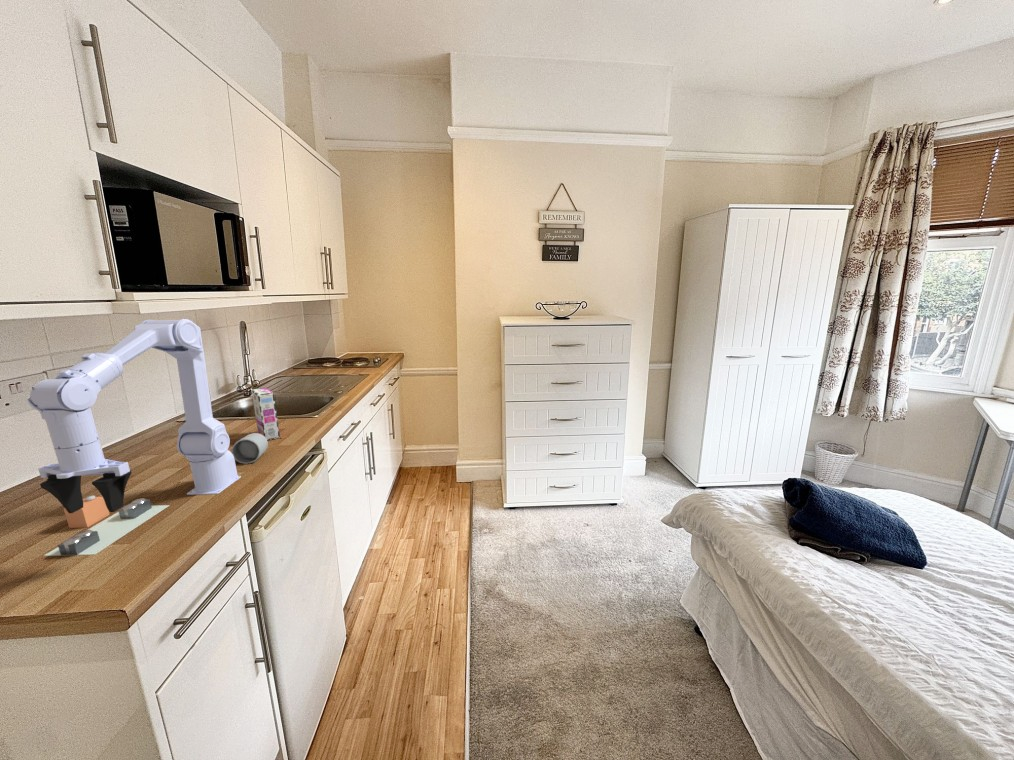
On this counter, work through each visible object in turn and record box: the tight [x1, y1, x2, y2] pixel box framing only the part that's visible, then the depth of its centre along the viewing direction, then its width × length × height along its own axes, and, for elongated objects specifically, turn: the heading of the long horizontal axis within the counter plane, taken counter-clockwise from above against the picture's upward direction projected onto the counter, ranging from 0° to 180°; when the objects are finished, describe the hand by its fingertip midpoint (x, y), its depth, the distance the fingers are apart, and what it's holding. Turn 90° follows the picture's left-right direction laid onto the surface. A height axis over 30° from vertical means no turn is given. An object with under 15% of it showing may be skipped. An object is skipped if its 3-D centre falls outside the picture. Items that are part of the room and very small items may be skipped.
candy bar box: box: [251, 387, 281, 441], centre depth 140 cm, size 11×5×16 cm, turn 42°
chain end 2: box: [117, 497, 153, 519], centre depth 92 cm, size 5×3×2 cm
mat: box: [43, 504, 170, 557], centre depth 87 cm, size 18×10×1 cm, turn 0°
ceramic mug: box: [231, 432, 269, 465], centre depth 121 cm, size 11×8×8 cm
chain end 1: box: [57, 529, 100, 556], centre depth 80 cm, size 5×3×2 cm
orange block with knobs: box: [63, 495, 111, 529], centre depth 89 cm, size 5×4×6 cm
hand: (96, 509), depth 76 cm, fingers open, 7 cm apart
